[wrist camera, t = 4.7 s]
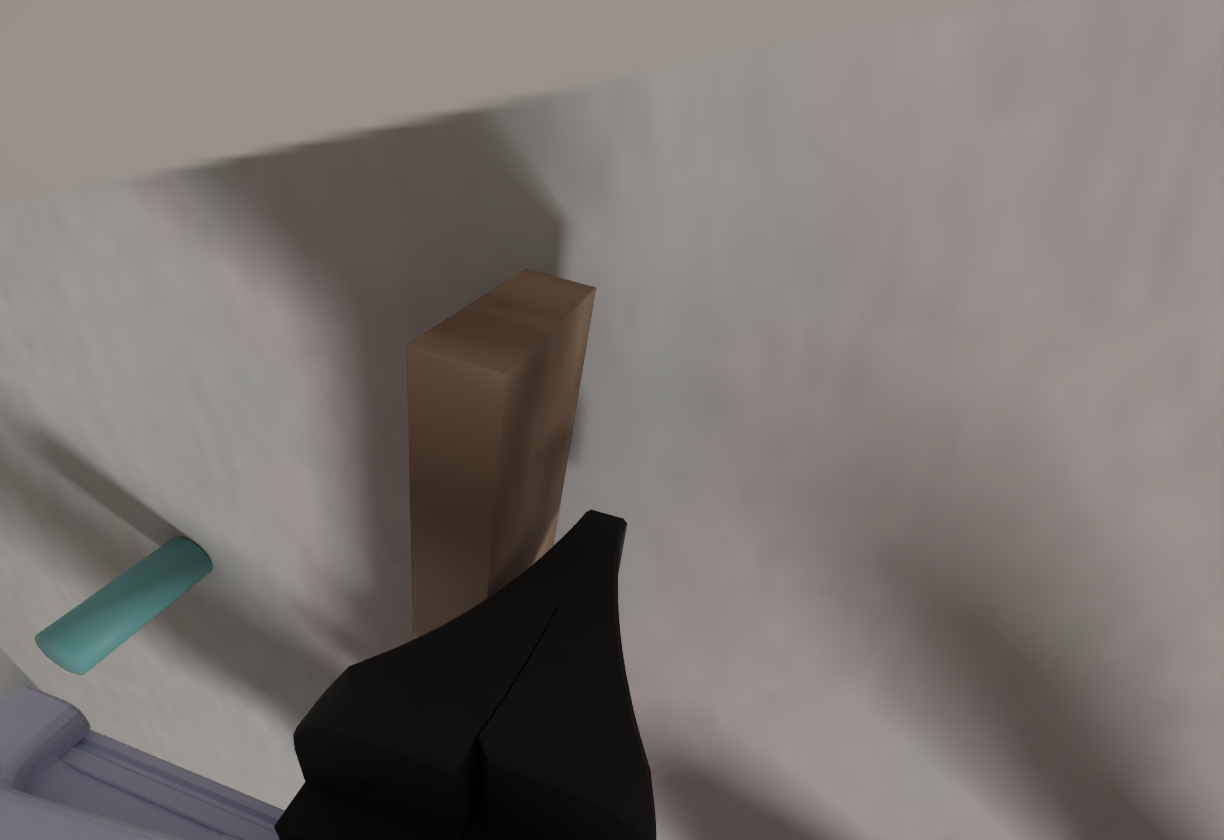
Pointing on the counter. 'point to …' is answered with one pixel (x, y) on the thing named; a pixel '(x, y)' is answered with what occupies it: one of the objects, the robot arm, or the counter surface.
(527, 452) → the wooden plank
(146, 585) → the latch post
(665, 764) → the counter surface
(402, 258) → the counter surface
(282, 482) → the counter surface
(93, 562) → the counter surface
